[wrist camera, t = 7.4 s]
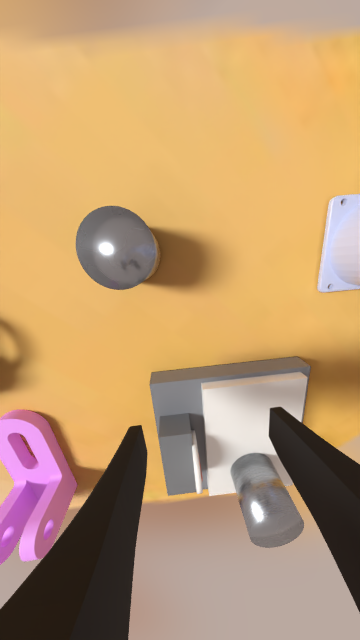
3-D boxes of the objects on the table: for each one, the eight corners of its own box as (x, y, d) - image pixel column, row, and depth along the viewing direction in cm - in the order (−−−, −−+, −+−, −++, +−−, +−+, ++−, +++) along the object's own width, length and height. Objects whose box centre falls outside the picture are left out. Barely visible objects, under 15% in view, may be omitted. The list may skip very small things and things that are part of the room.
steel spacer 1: (160, 224, 15) (155, 207, 11) (160, 282, 17) (155, 290, 12) (102, 222, 15) (70, 203, 10) (107, 281, 17) (81, 288, 12)
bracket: (78, 483, 24) (43, 567, 17) (35, 490, 24) (-15, 577, 17) (41, 405, 20) (-21, 474, 14) (-9, 413, 20) (-97, 486, 13)
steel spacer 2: (256, 445, 19) (284, 504, 15) (280, 467, 21) (314, 528, 16) (221, 470, 20) (238, 533, 15) (246, 489, 21) (269, 553, 17)
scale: (297, 356, 20) (353, 397, 14) (284, 461, 25) (322, 525, 19) (151, 372, 20) (143, 422, 13) (167, 475, 24) (167, 546, 18)
